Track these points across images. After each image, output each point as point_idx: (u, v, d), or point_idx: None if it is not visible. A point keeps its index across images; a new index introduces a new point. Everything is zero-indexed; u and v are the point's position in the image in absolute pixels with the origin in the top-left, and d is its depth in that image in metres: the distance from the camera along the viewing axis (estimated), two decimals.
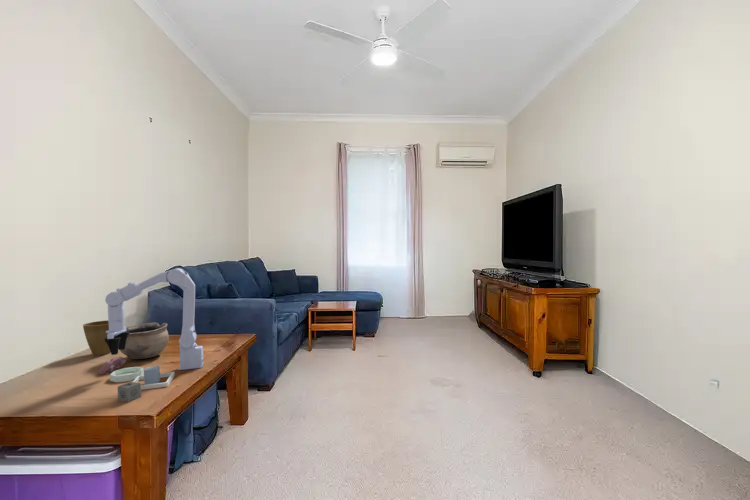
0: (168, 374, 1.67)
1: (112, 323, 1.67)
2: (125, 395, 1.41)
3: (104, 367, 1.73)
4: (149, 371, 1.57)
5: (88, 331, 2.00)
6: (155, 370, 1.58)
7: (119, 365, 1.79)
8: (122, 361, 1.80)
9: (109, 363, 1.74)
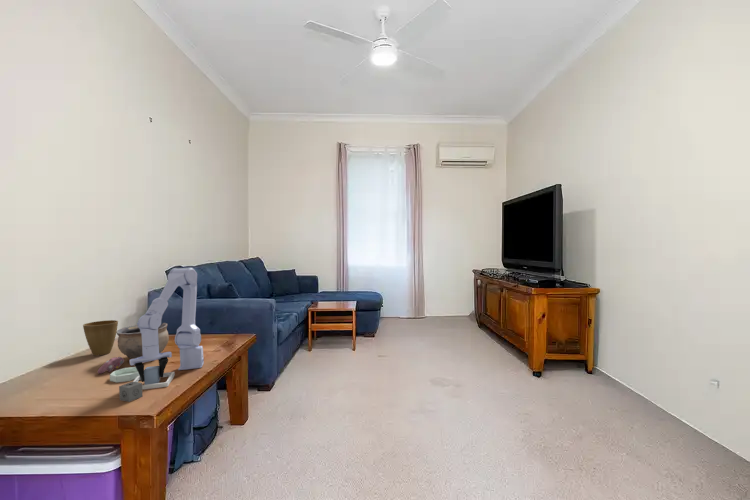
0: (168, 374, 1.67)
1: (142, 348, 1.58)
2: (127, 395, 1.41)
3: (103, 367, 1.73)
4: (149, 371, 1.57)
5: (88, 331, 2.00)
6: (155, 370, 1.58)
7: (118, 365, 1.79)
8: (121, 361, 1.80)
9: (108, 363, 1.74)
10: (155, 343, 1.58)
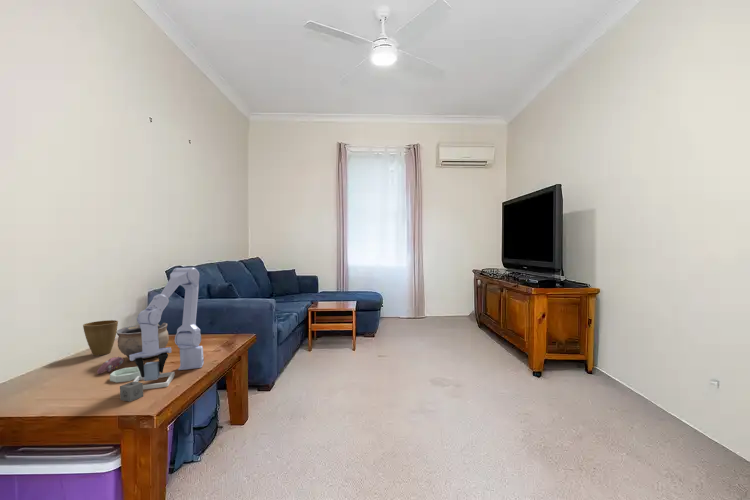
0: (168, 374, 1.67)
1: (142, 343, 1.58)
2: (127, 395, 1.42)
3: (102, 367, 1.73)
4: (149, 366, 1.57)
5: (88, 331, 2.00)
6: (155, 365, 1.58)
7: (117, 365, 1.79)
8: (120, 361, 1.80)
9: (107, 363, 1.74)
10: (155, 338, 1.58)
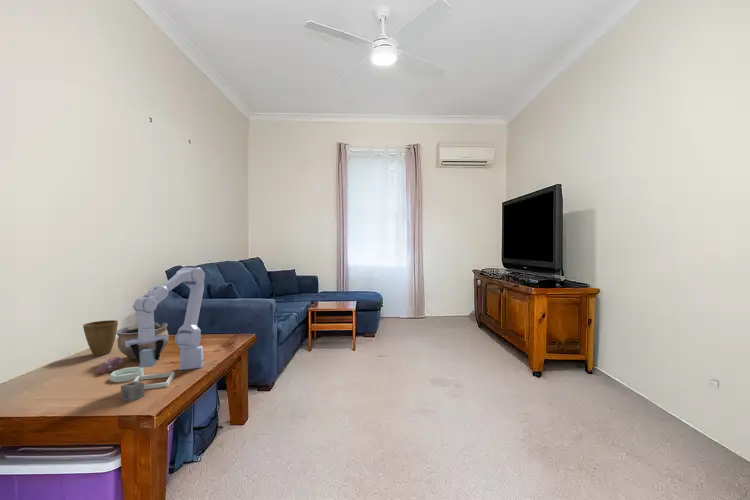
0: (168, 374, 1.67)
1: (138, 330, 1.59)
2: (128, 394, 1.42)
3: (101, 367, 1.73)
4: (144, 353, 1.58)
5: (88, 331, 2.00)
6: (150, 352, 1.59)
7: (116, 365, 1.79)
8: (119, 361, 1.80)
9: (106, 363, 1.74)
10: (150, 326, 1.59)
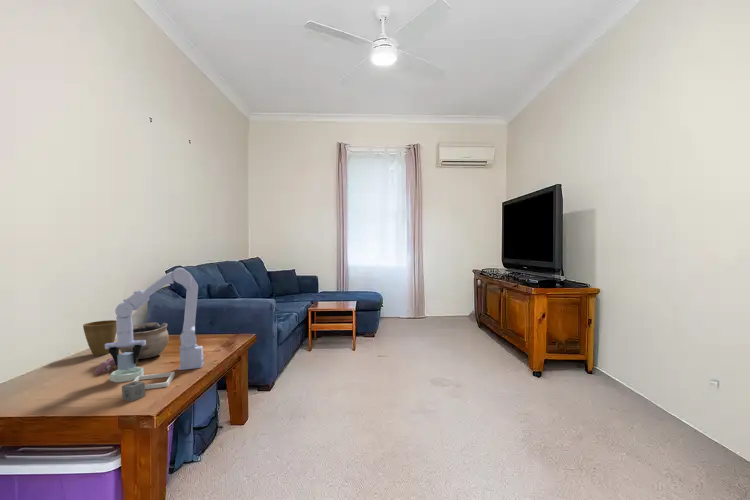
0: (168, 374, 1.67)
1: None
2: (129, 394, 1.42)
3: (100, 367, 1.73)
4: (121, 356, 1.65)
5: (88, 331, 2.00)
6: (125, 356, 1.65)
7: (115, 365, 1.79)
8: None
9: (105, 363, 1.74)
10: (123, 331, 1.65)
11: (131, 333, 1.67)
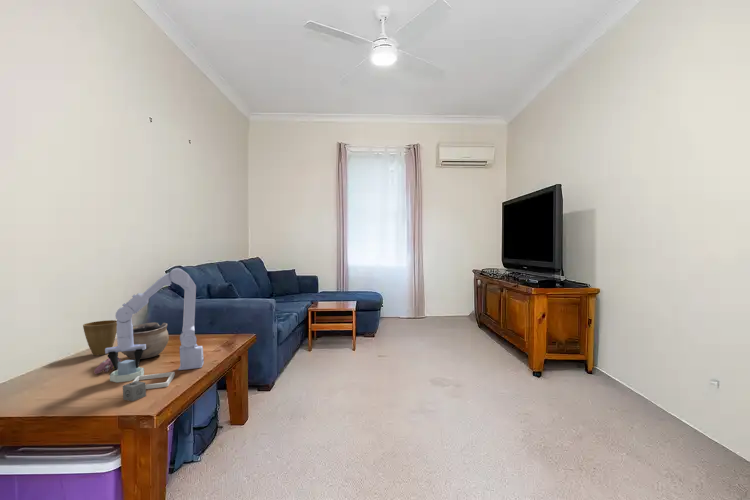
0: (168, 374, 1.67)
1: None
2: (130, 394, 1.42)
3: (99, 367, 1.73)
4: (121, 364, 1.65)
5: (88, 331, 2.00)
6: (126, 364, 1.65)
7: None
8: None
9: (104, 363, 1.74)
10: (123, 335, 1.65)
11: (131, 337, 1.67)
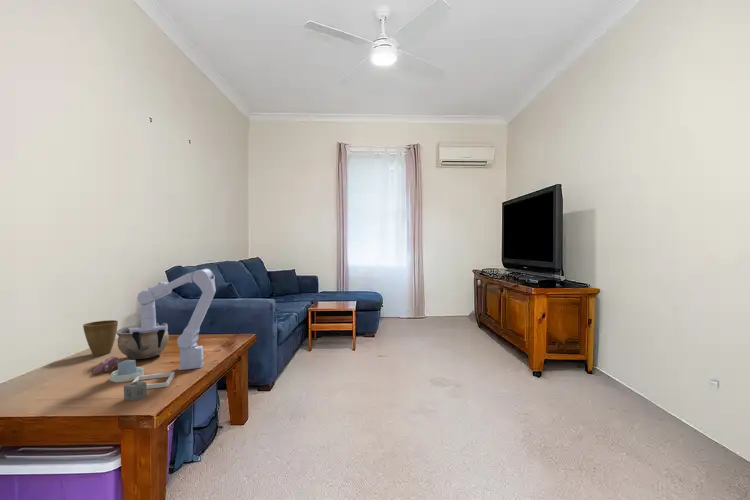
0: (168, 374, 1.67)
1: None
2: (131, 394, 1.42)
3: (99, 367, 1.73)
4: (121, 364, 1.65)
5: (88, 331, 2.00)
6: (126, 364, 1.65)
7: (114, 365, 1.80)
8: (117, 361, 1.80)
9: (104, 363, 1.74)
10: (144, 317, 1.74)
11: (154, 319, 1.77)
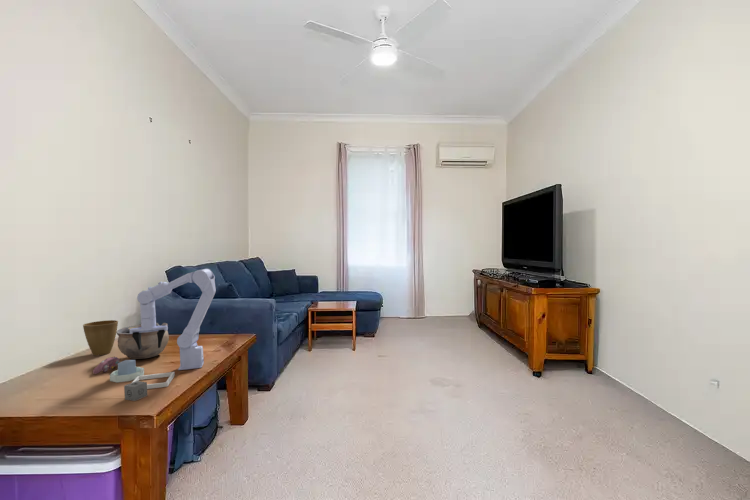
0: (168, 374, 1.67)
1: None
2: (132, 394, 1.42)
3: (98, 367, 1.73)
4: (121, 364, 1.65)
5: (88, 331, 2.00)
6: (126, 364, 1.65)
7: (113, 365, 1.80)
8: (116, 361, 1.80)
9: (103, 363, 1.74)
10: (144, 317, 1.74)
11: (154, 319, 1.77)
